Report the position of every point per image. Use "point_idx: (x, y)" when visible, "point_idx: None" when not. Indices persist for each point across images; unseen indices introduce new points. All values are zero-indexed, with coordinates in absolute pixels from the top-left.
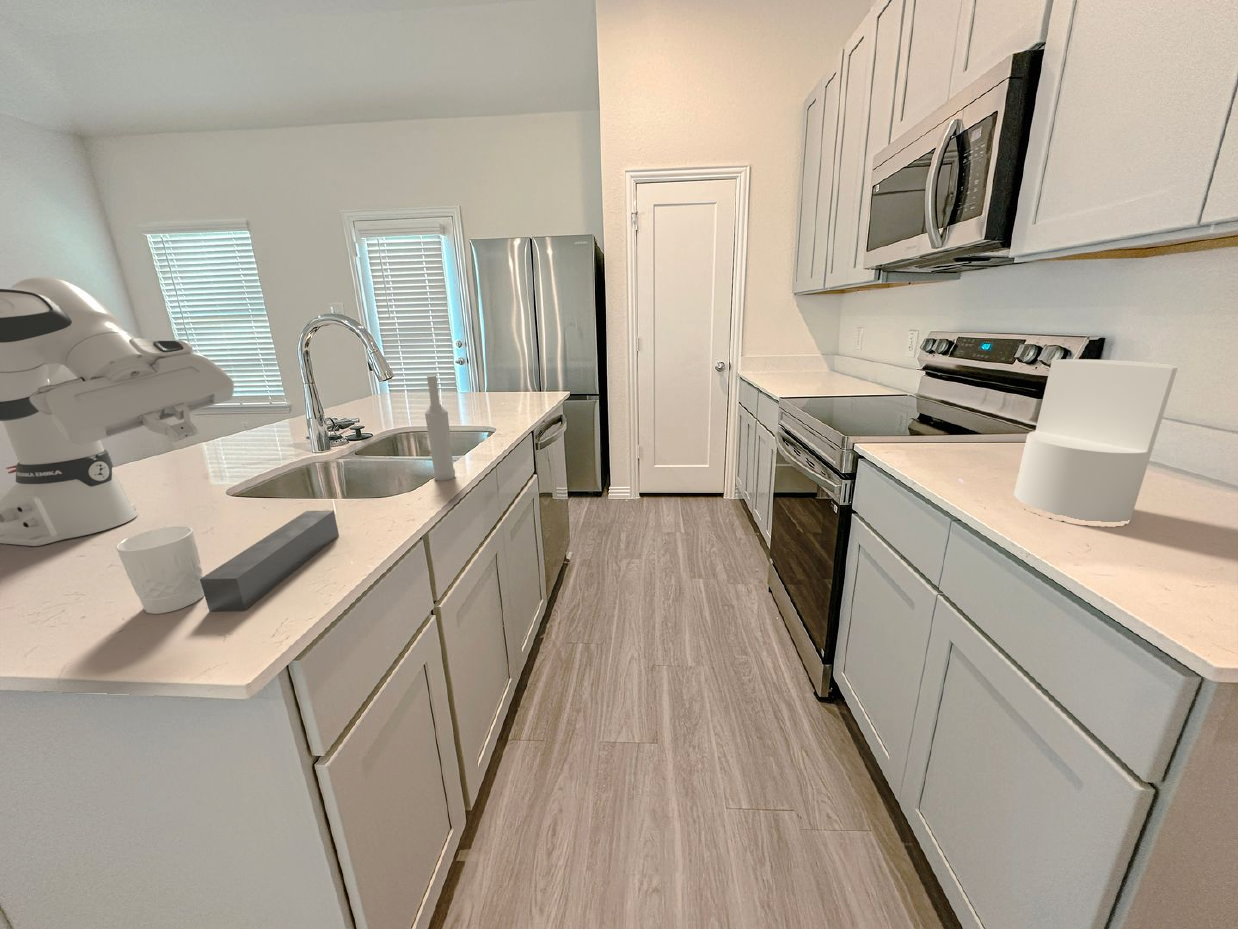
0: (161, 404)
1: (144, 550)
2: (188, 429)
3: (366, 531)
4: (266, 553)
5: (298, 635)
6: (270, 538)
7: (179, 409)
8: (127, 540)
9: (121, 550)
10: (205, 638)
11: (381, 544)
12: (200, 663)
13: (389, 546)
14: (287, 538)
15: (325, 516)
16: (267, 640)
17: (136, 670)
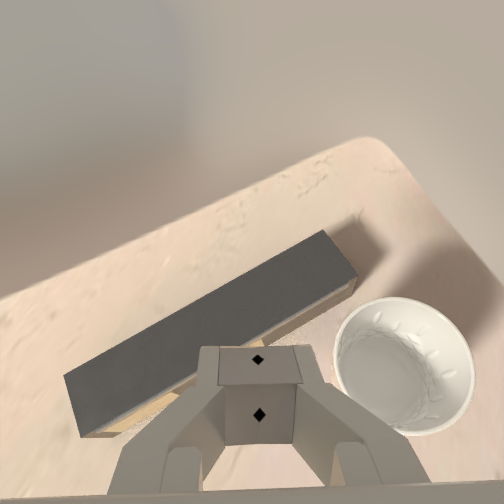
0: (286, 497)
1: (430, 307)
2: (237, 349)
3: (66, 351)
4: (254, 279)
5: (309, 158)
6: (214, 341)
7: (182, 462)
8: (450, 417)
9: (467, 345)
10: (375, 231)
11: (103, 277)
12: (394, 188)
13: (106, 260)
14: (200, 311)
15: (95, 357)
16: (332, 173)
17: (447, 229)
